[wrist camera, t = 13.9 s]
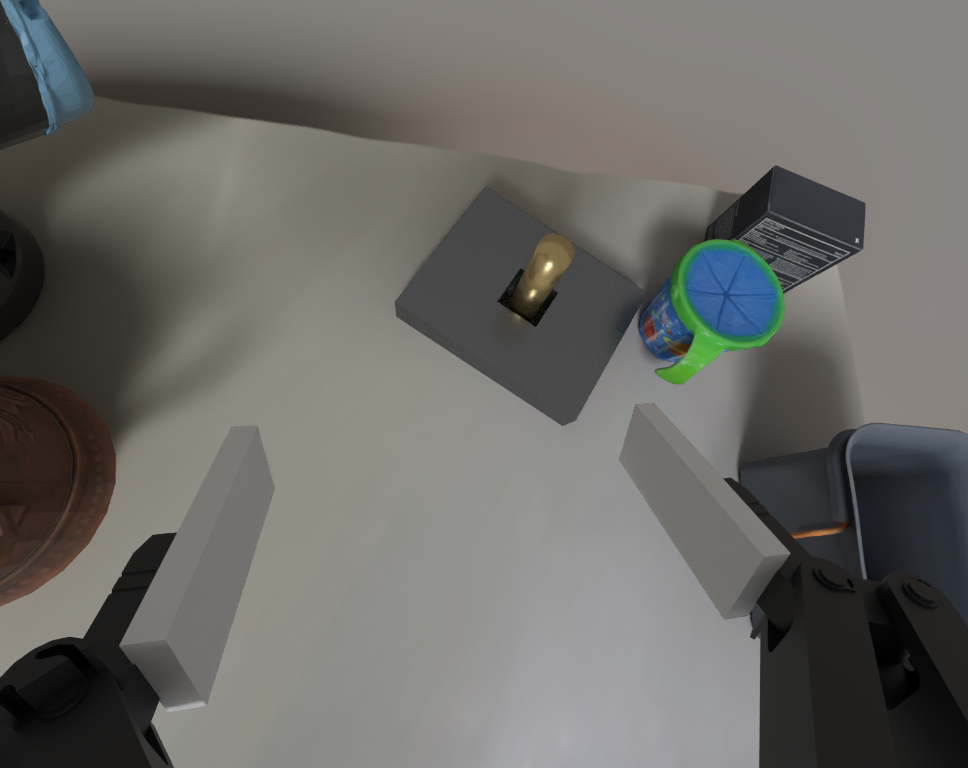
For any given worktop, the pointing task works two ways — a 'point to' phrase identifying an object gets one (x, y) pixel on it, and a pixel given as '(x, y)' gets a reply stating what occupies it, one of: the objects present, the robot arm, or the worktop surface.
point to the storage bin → (876, 504)
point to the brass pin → (541, 275)
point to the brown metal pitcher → (48, 481)
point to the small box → (794, 225)
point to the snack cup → (711, 307)
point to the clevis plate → (503, 334)
